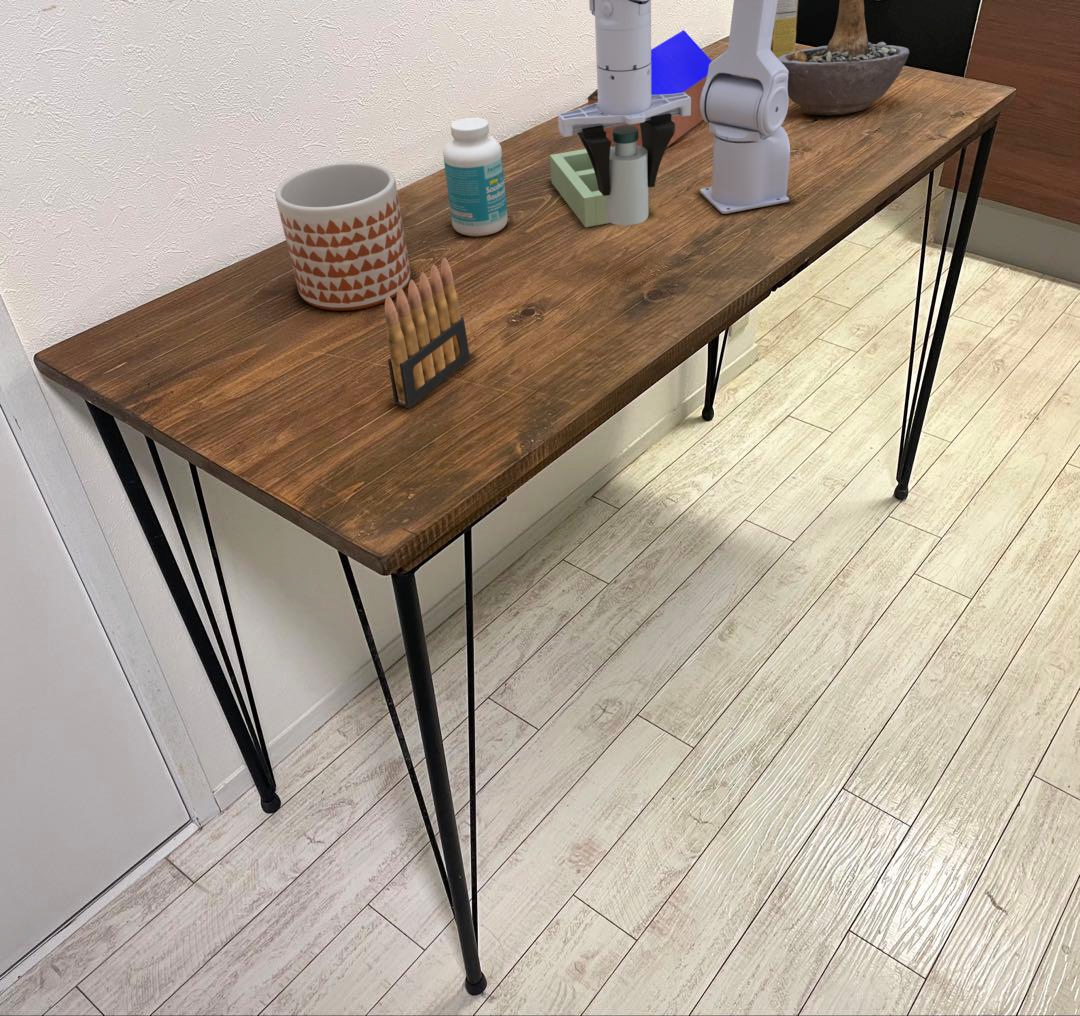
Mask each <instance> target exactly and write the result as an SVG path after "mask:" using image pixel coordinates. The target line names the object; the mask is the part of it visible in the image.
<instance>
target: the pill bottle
mask: <svg viewBox="0 0 1080 1016" xmlns="http://www.w3.org/2000/svg"><path fill="white" fill-rule="evenodd" d="M489 132H490V128H489V122H488V120H487V119H485V118H482V117H464V118H459V119H457V120H455V121H453V122H452V123H451V124H450V135H451V136H452V138H453V139H451V140H450V141H449V142H447V143H446V144H445V147H444V149H443V154H442V155H443V164H444V173H445V179H446V187H447V195H448V203H449V212H450V218H451V225H452V228H453V230H454V231H456V232H457V233H459V234H461V235H463V236H469V237H484V236H489V235H493V234H496V233H497V232H500V231H501V230H503V229H504V228H505V227H506V226H507V223H508V221H509V220H508V205H507V194H506V185H505V173H504V172H505V171H504V162H503V160H504V159H503V150H502V146H501V144H500V142H499V141H498V140H497V139H496V138H494V137H492V136H490V133H489Z"/></svg>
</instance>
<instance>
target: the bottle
mask: <svg viewBox="0 0 1080 1016" xmlns="http://www.w3.org/2000/svg"><path fill="white" fill-rule="evenodd" d="M637 140H638V128H637V127H634V126H619V127H616V128H614V129H613V141H614V142H615V147H612V148H610V157H609V178H610V195H607V196H606V219H607V220H608V221H609V222H610V223H609V224H612V225H616V226H622V227H624V226H625V227H627V226H635V225H639V224H641V223H643V222H645V221H647V219H648V218H649V216H648V151H647V149H645V148H644V147H641V146H638V145H637Z"/></svg>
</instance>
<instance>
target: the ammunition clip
mask: <svg viewBox="0 0 1080 1016" xmlns="http://www.w3.org/2000/svg"><path fill="white" fill-rule="evenodd" d="M429 273H430V275H429V279H428V276H427V275H426V273H425V272H424V271H421V272H420V276H419V282H418V283H419V289H418V287H417V285H416V283H415V281H414V280H413V279H410V281H409V283H408V291H407V292H408V293H407V294H408V298H407V296H406V294H405V291H404V290H402V289H401V288H398V292H397V295H396V305H395V303H394V301H393V300H392V298H390V297H389V296H387V297H386V300H385V302H384V318H385V326H386V339H387V340H386V341H387V346H388V352H389V357H390V358H389V359H387V363H388V364H387V365H388V370H389V374H390V375H389V376H390V382H391V389H392V395H393V400H394V404H395V405H397V406H400V407H403V408H407V409H411V408H413V406H415V404H417V403H418V402H419V401H421V400H422V399H423V398H424V397H425V396H427V395H428V394H429V393H430V392H432V391H433V390H434V389H436V388H437V387H438V386H440V385H441V384H442V383H443V382H444V381H445V380H446V379H448V378H450V376H451V375H453V374H454V373H456V372H457V371H458V370H460V368H461V367H463V366H464V365H465V364H466V363H468V362H469V361H471V354H470V349H469V348H470V347H469V341H468V336H467V331H466V323H465V318H464V317H462V316H461V312H460V303H459V296H458V293H457V291H456V287H455V282H454V277H453V276H454V275H453V274H452V273H453V272H452V268H451V266H450V263H449V261H448V260H447V258H446V257H445V256H444V257H442V259H441V264H440V271H439V270H438V267H437V266H436V265H435V264H432V265H431V267H430V272H429Z"/></svg>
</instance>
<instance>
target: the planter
mask: <svg viewBox="0 0 1080 1016" xmlns="http://www.w3.org/2000/svg"><path fill="white" fill-rule="evenodd" d="M864 1H865V0H839V5H838V12H837V20H836V23H835V27H834V28H835V29H834V32H833V35H832V36H831V39H830V40H829V41H828V44H827V45H821V46H817V47H810V48H805V49H799V50H795V52H791V53H790V54H785V55H782V56H780V57H778V59H779V60H780V61H781V63H782V64H783V65H784V66H785V67H786V68H787V69H788V71H789V73H788V97H789V99H790V101H792V102H793V103H795V104H798V105H799V106H800V107H801V110H802V112H803V113H804V114H805V115H815V116H841V115H848V114H852V113H857V112H860V111H861V112H862V111H864V110H865V109H867V108H868V107H869V106H870V105H871V104H872V103H873V102H875V101H877V100H878V99H880V98H882V97H883V96H884V95H885V94H886V93H887V92H888V91H889V89H890V88H891V87H892V85H893V84H894V83H895V82H896V80H897V78H898V77H899V75H900V73H901V72H902V70H903V68H904V67H905V64H906V62H907V60H908V58H909V55H910V50H909V48H908V47H904V46H899V45H892V44H891V45H890V44H889V45H887V43H885V42H884V41H880V42H878V43H876V44H875V43H872V42H871V41H869V39H868V33H867V25H866V20H865V19H866V18H865V3H864Z"/></svg>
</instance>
